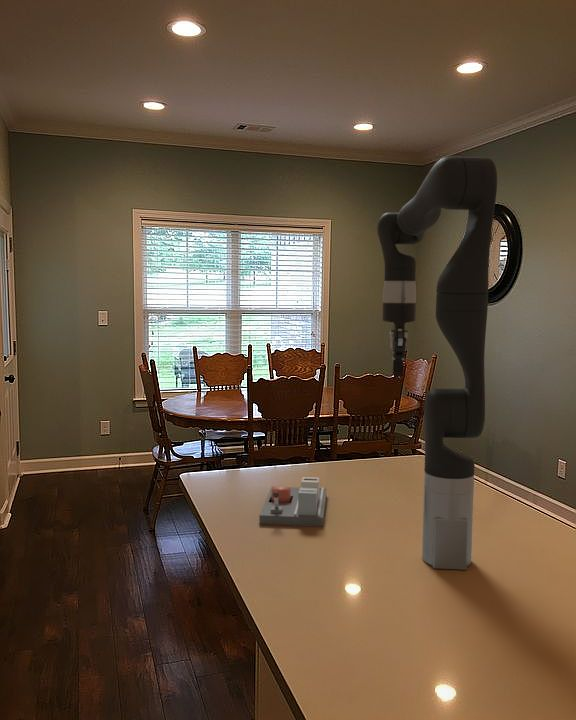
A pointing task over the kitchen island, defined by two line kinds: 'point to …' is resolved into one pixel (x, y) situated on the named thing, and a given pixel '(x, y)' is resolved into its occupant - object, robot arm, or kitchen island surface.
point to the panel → (291, 510)
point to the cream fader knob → (311, 484)
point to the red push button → (282, 494)
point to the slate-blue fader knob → (307, 501)
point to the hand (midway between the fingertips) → (397, 376)
